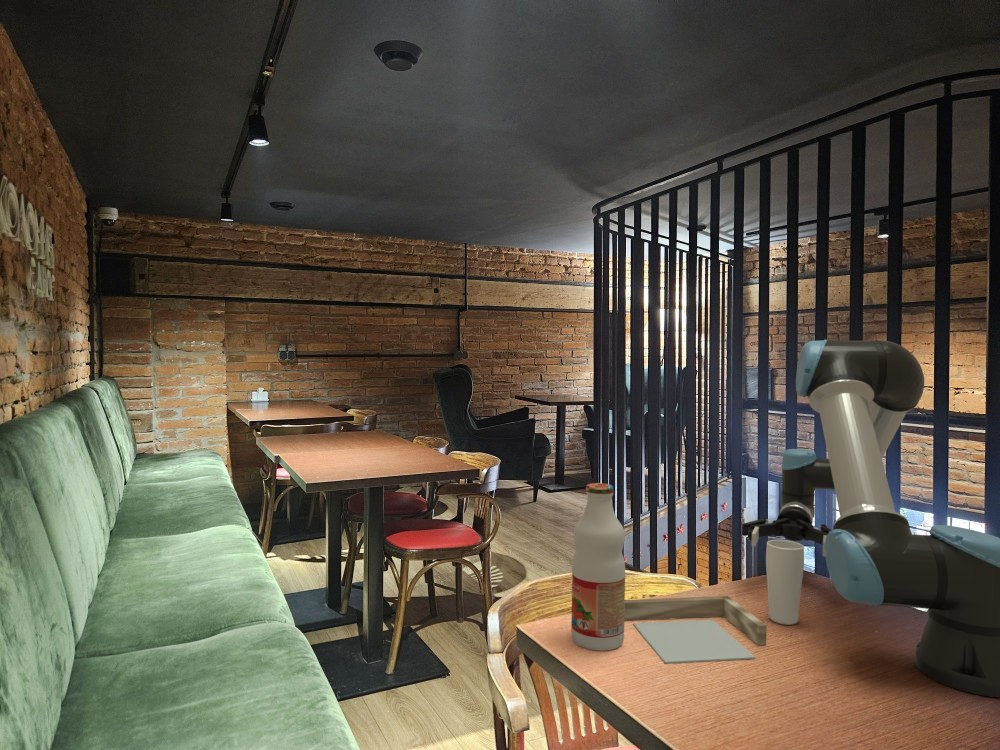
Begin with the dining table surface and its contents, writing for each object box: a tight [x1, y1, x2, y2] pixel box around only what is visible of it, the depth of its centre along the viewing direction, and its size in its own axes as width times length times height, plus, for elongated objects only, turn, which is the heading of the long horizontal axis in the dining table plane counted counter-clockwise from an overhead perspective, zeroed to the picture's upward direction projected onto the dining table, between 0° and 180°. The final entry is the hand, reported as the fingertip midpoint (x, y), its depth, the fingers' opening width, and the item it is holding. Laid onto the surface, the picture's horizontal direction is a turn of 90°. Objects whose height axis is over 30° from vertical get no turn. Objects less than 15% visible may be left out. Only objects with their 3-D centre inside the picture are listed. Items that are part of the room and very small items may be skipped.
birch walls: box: [624, 595, 768, 646], centre depth 122 cm, size 14×24×4 cm, turn 97°
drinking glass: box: [765, 539, 805, 626], centre depth 128 cm, size 7×7×15 cm
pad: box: [632, 619, 756, 665], centre depth 118 cm, size 16×16×1 cm
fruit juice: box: [570, 482, 626, 652], centre depth 117 cm, size 9×9×28 cm
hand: (788, 545), depth 136 cm, fingers open, 13 cm apart
